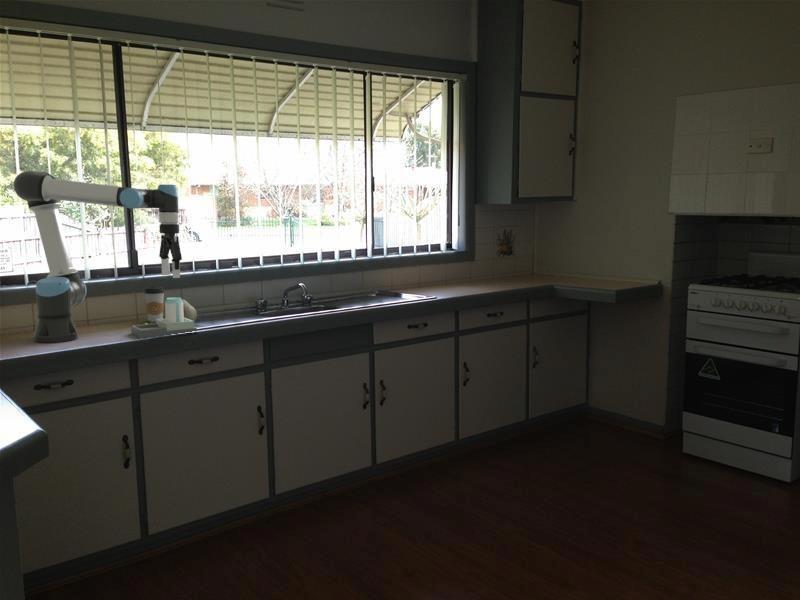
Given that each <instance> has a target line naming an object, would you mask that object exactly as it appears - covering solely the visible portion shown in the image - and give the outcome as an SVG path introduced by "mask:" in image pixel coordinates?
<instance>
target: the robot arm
mask: <svg viewBox="0 0 800 600" xmlns="http://www.w3.org/2000/svg"><path fill="white" fill-rule="evenodd" d="M13 190H14V192H15V194H16V195H17V196H18V197H19V198H20V199H21V200H23V201H25V202H26V203H27V206H28V209H29V210H30V211H32V212H33V213H34V215H35V219H36V224H37V227H38V231H39V236H40V238H41V239H40V240H41V243H42V247H43V252H44V255H45V258H46V263H47V267H48V271H49V273H48V275H47V276H46V277H44V278H40V279H39V280H37V282H36V284H35V294H36V295H35V296H36V308H37V309H36V310H37V323H36V326H35V330H34V334H33V341H34V342H37V343H42V344H43V343H44V344H45V343H48V344H49V343H63V342H69V341H73V340H77V339H78V338H79V337H78V333H79V332H78V330H77V328H76V325H75V323H74V321H73V317H72V307H77V306H78V305H80V303H82V302H83V301H84V299H85V298H86V296H87V285H86V284H85V282H84V281H83V280H82V279H81V278H80V273H79V271H78V270H77V269H75V268H74V265H73V262H72V259H71V254H70V250H69V247H68V241H67V239H66V235H65V230H64V227H63V223H62V219H61V215H60V211H59V208H60V207H61V205H62V202H61V201H66V202H76V203H86V204H92V205H102V206H103V205H104V206H111V207H120V208H127V209H133V210H134V209H135V210H136V209H158V222H159V223H160V224H159V233H160V234H162V235H161V236H160V238H161V239H160V240H161V241H160V245H159V246H160V248H159V254H158V256H159V258H160V259H161V275H162V276H169V275H170V263H169V262H170V260H169V259H170V257H169V254H171V255H170V256H171V257H172V258H171V262H172V263H171V264H172V265H171V266H172V269H171V270H172V278H173V279H180V278H181V261H182V260H183V257H182V253H181V247H180V242H179V240H180V239H179V235H177V236H176V234H179V233H180V224H178V223H179V222H180V217H181V215H179V213H180V211H179V188H178V186H177V185H176V184H158V186H157V189H155V188H154V189H148V188H146V189H145V188H135V187H126V186H125V187H124V186H116V185H107V184H99V183H91V182H90V183H89V182H82V181H72V180H66V179H59V178H57V177H55V176H54V175H52V174H50V173H49V172H45V171H36V170H35V171H34V170H25V171H22V172H20V173H19V174H17V175H16V177H15V178H14V181H13Z"/></svg>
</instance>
